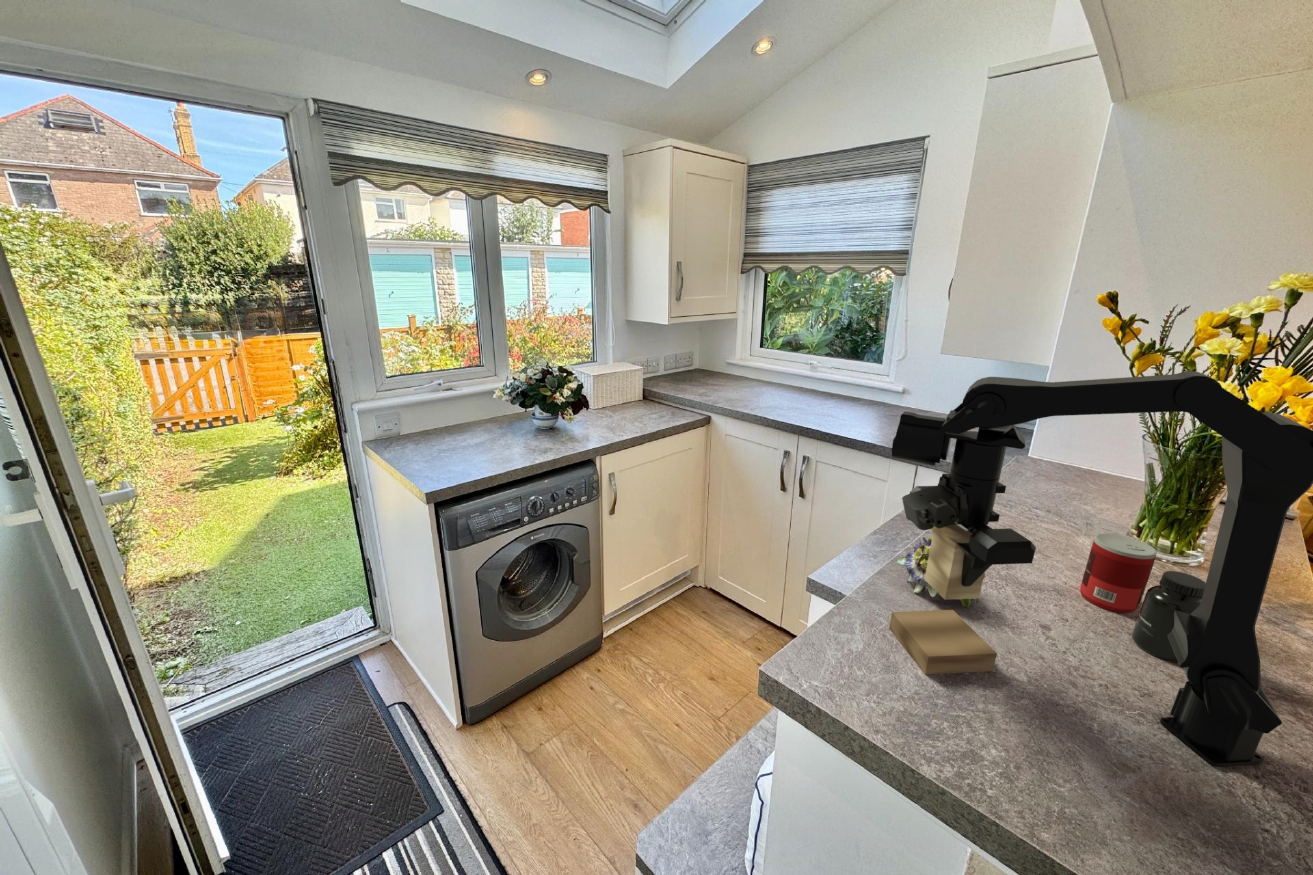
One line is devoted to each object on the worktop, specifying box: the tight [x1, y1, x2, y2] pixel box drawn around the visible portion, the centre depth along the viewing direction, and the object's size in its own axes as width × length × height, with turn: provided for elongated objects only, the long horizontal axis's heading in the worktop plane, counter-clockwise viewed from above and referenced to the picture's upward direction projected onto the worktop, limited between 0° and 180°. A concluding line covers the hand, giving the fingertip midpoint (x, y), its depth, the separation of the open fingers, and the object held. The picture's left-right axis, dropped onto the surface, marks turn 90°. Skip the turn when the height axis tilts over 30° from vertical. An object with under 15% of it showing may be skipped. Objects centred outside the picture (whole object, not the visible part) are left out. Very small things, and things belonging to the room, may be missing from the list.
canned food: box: [1079, 533, 1157, 614], centre depth 89 cm, size 8×8×11 cm
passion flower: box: [895, 536, 986, 609], centre depth 92 cm, size 11×11×12 cm
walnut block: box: [888, 609, 998, 675], centre depth 78 cm, size 10×10×3 cm
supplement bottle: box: [1131, 570, 1206, 663], centre depth 78 cm, size 7×7×12 cm
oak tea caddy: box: [924, 524, 986, 600], centre depth 74 cm, size 5×5×9 cm
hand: (953, 575), depth 75 cm, fingers closed on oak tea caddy, 5 cm apart
